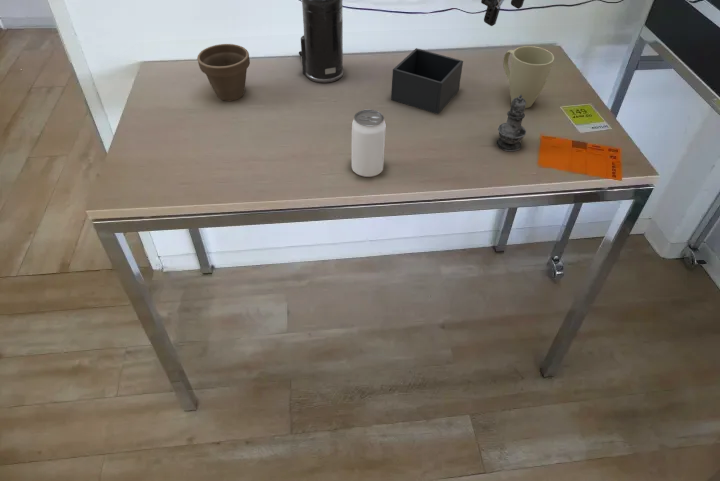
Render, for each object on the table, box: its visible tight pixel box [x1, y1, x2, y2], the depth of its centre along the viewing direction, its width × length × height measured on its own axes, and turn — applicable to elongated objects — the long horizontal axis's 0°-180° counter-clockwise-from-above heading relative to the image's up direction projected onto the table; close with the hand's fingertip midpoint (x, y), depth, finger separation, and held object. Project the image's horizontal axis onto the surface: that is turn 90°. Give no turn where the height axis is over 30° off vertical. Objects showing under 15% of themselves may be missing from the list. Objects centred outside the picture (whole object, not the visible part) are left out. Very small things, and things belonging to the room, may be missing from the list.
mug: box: [502, 45, 555, 109], centre depth 129 cm, size 11×10×12 cm
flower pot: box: [196, 43, 251, 102], centre depth 130 cm, size 12×11×10 cm
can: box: [351, 108, 387, 178], centre depth 110 cm, size 6×6×12 cm
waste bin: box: [390, 47, 464, 115], centre depth 132 cm, size 12×12×8 cm
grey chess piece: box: [496, 95, 527, 152], centre depth 117 cm, size 6×6×12 cm
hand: (502, 14), depth 105 cm, fingers open, 8 cm apart
